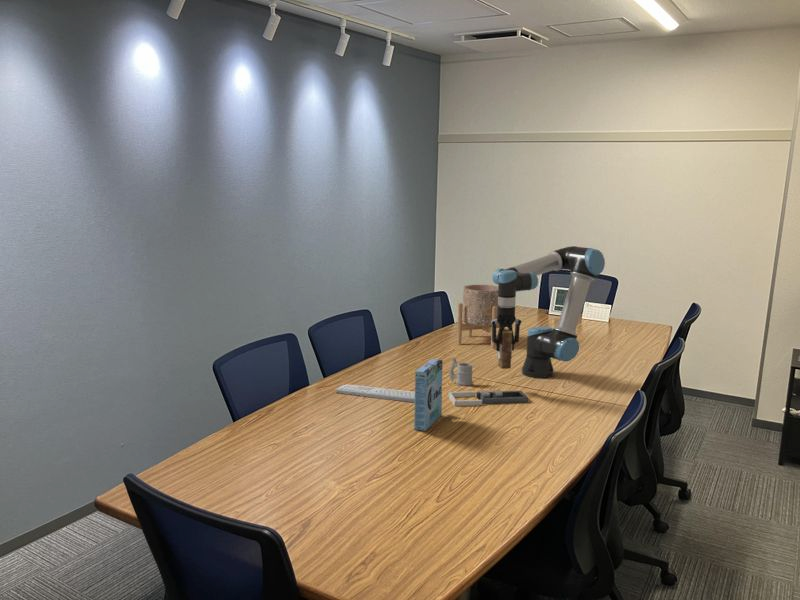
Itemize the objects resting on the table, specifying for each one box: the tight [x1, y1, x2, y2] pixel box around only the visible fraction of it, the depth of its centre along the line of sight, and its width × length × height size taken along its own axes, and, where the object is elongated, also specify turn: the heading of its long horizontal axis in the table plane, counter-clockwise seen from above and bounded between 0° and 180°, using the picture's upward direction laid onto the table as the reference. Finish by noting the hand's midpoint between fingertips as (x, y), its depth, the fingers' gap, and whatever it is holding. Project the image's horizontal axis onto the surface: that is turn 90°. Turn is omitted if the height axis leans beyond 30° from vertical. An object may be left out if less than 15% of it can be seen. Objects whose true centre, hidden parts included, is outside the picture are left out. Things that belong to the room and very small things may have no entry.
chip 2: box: [492, 389, 503, 398], centre depth 284 cm, size 3×4×4 cm
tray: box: [447, 390, 483, 407], centre depth 282 cm, size 12×12×3 cm
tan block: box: [497, 328, 512, 370], centre depth 293 cm, size 4×5×17 cm
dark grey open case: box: [475, 390, 529, 405], centre depth 284 cm, size 20×10×3 cm, turn 99°
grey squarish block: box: [479, 390, 490, 399], centre depth 283 cm, size 3×4×4 cm
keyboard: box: [334, 383, 415, 404], centre depth 291 cm, size 44×12×2 cm, turn 72°
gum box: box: [413, 358, 443, 432], centre depth 257 cm, size 20×5×23 cm, turn 158°
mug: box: [449, 357, 474, 387], centre depth 306 cm, size 8×12×12 cm, turn 55°
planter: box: [456, 284, 506, 350], centre depth 383 cm, size 22×23×32 cm
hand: (504, 357), depth 294 cm, fingers closed on tan block, 4 cm apart
